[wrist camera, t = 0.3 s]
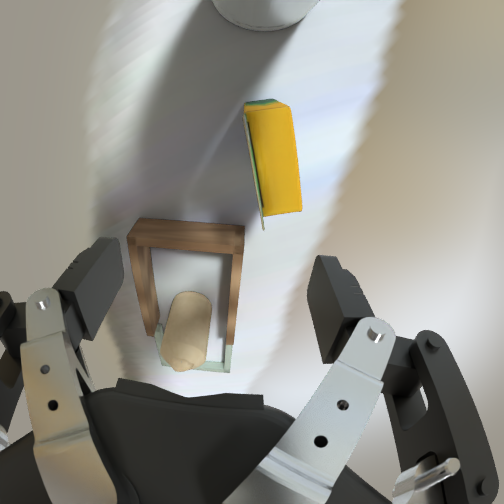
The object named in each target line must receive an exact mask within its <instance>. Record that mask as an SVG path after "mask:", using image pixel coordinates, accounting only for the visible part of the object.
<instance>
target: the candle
mask: <svg viewBox="0 0 504 504" xmlns="http://www.w3.org/2000/svg"><path fill="white" fill-rule="evenodd" d="M211 312H212V306H211V303H210V301H209V300H208V299H207V298H206V297H205V296H204V295H202V294H200V293H197V292H192V291H185V292H181V293H179V294H178V295H176V296H175V298H174V300H173V302H172V306H171V309H170V313H169V317H168V320H167V324H166V328H165V332H164V336H163V340H162V344H161V348H160V354H161V356H162V357H163V359H164V360H165V361H166V362H167V363H168V364H169V365H170V366H171V367H172V368H173V369H174V370H175V371H177V372H183V371H186V370H190V369H195V368H197V367H199V366H201V365H203V364H204V363H205V361H206V353H207V345H208V336H209V328H210V320H211Z"/></svg>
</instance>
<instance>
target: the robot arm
mask: <svg viewBox="0 0 504 504" xmlns="http://www.w3.org/2000/svg"><path fill="white" fill-rule="evenodd" d="M212 1H213V4H214V6H215V8H216V9H217V10H218V12H219V13H220V14H221V15H222V16H223V17H224V18H225V19H227V20H228V21H230V22H231V23H233V24H235V25H237V26H240V27H242V28H245V29H250V30H255V31H274V30H280V29H283V28H287V27H290V26H291V25H293V24H295V23H297V22H299V21H300V20H301V19H302V18H304V17H305V16H306V15H307V13H308V12H309V11H310V10H311V9H312V8H313V7H314V6H315V5H316V4H317V3H318V2H319V1H320V0H212ZM123 278H124V270H123V264H122V258H121V251H120V245H119V241H118V239H117V238H108V237H99V238H98V239H97V241H96V242H95V243H94V244H93V245H92V246H91V248H87V249H86V250H84V251H83V252H81V253H80V254H79V255H78V256H77V257H76V258H75V259H74V261H73V263H71V264H70V266H69V267H68V269H66V270H65V272H64V273H63V274H62V275H61V276H60V278H59V279H58V280H57V282H56V283H55V284H54V285H53V287H52V288H43V289H40V290H38V291H36V292H34V293H33V294H32V295H31V296H30V297H29V298H28V300H27V302H22V303H14V302H13V300H12V298H11V296H10V294H9V293H8V292H5V291H1V292H0V340H1V342H2V343H3V345H4V347H5V348H6V350H5V352H4V353H3V355H2V357H1V359H0V504H492V502H493V501H494V499H495V498H496V496H497V493H498V489H499V480H498V475H497V471H496V467H495V464H494V460H493V456H492V453H491V450H490V446H489V443H488V440H487V437H486V434H485V431H484V428H483V425H482V422H481V419H480V417H479V414H478V412H477V409H476V406H475V404H474V401H473V399H472V397H471V394H470V392H469V389H468V387H467V385H466V383H465V380H464V378H463V376H462V374H461V372H460V369H459V367H458V365H457V363H456V361H455V359H454V357H453V355H452V353H451V351H450V349H449V347H448V345H447V344H446V342H445V340H444V339H443V338H442V337H441V336H440V335H439V334H437V333H435V332H433V331H429V330H423V331H421V332H419V333H418V334H417V336H416V338H415V339H414V340H412V339H407V338H403V337H398V336H396V335H395V332H394V330H393V328H392V327H391V326H390V325H389V324H388V323H386V322H385V321H383V320H381V319H379V318H375V315H374V313H373V311H372V309H371V307H370V305H369V303H368V301H367V299H366V297H365V295H363V291H362V289H361V288H360V285H359V283H358V281H357V280H356V278H355V276H353V275H352V274H351V273H350V272H349V271H348V270H347V269H346V270H345V269H342V267H341V265H340V263H339V261H338V259H337V257H334V256H324V255H318V256H317V257H316V259H315V262H314V266H313V270H312V274H311V277H310V281H309V285H308V289H307V301H308V305H309V309H310V312H311V316H312V320H313V325H314V329H315V332H316V337H317V341H318V345H319V349H320V353H321V357H322V362H323V364H332V363H333V365H332V367H331V369H330V370H329V372H328V373H327V375H326V377H325V378H324V380H323V381H322V383H321V384H320V386H319V387H318V389H317V390H316V392H315V393H314V395H313V396H312V397H311V399H310V401H309V402H308V404H307V405H306V406H305V407H304V409H303V410H302V412H301V413H300V415H299V416H298V417H297V419H295V418H294V417H292V416H290V415H289V414H287V413H285V412H283V411H281V410H279V409H276V408H274V407H270V406H267V405H264V403H263V395H254V394H233V393H223V394H216V395H208V396H200V397H190V398H188V397H183V396H180V395H178V394H175V393H172V392H170V391H167V390H165V389H162V388H160V387H157V386H155V385H152V384H148V383H142V382H137V381H132V380H127V379H122V378H118V381H117V384H116V387H115V388H114V387H112V388H105V389H100V390H97V391H96V389H95V387H94V385H93V382H92V379H91V377H90V374H89V370H88V367H87V365H86V361H85V358H84V355H83V351H82V348H81V346H80V342H81V340H82V339H86V340H90V341H93V340H94V338H95V335H96V333H97V331H98V329H99V327H100V325H101V323H102V321H103V319H104V317H105V315H106V313H107V311H108V309H109V307H110V306H111V304H112V302H113V300H114V298H115V296H116V294H117V292H118V291H119V289H120V287H121V285H122V283H123ZM422 386H423V389H424V392H425V394H426V397H427V400H428V410H426V407H425V404H424V401H423V398H422V395H421V392H420V388H421V387H422ZM23 387H24V388H25V394H26V400H27V405H28V411H29V416H30V420H31V424H32V429H33V431H31V432H30V433H28V434H26V435H25V436H24V437H22V438H20V439H19V440H17V441H16V442H14V443H13V444H10V443H9V442H8V436H7V432H8V429H9V426H10V422H11V419H12V417H13V414H14V411H15V408H16V405H17V402H18V400H19V397H20V394H21V392H22V389H23ZM380 393H383V394H384V398H385V402H386V405H387V409H388V413H389V417H390V421H391V425H392V430H393V434H394V439H395V443H396V448H397V452H398V457H399V462H400V467H401V475H400V476H399V477H398V479H397V481H396V483H395V488H394V489H393V492H392V495H393V497H394V499H393V501H392V502H391V501H389V500H388V499H387V498H385V497H384V496H383V495H381V494H380V493H379V492H378V491H377V490H375V489H374V488H373V487H372V486H370V485H369V484H368V483H367V482H365V481H364V480H363V479H362V478H360V477H359V476H358V475H357V474H356V473H355V472H353V471H352V470H351V469H350V468H349V467H348V466H347V465H346V462H347V461H348V459H349V457H350V456H351V454H352V452H353V450H354V448H355V446H356V444H357V443H358V440H359V439H360V437H361V435H362V433H363V431H364V429H365V426H366V424H367V422H368V420H369V418H370V416H371V414H372V411H373V409H374V407H375V404H376V402H377V400H378V397H379V395H380Z"/></svg>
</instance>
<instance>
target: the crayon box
mask: <svg viewBox="0 0 504 504" xmlns="http://www.w3.org/2000/svg"><path fill="white" fill-rule="evenodd" d="M243 123H244V128H245V133H246V138H247V144H248V149H249V155H250V160H251V166H252V172H253V177H254V183H255V189H256V194H257V200H258V205H259V210H260V216H261V222H262V229H263V231H264V230H265V228H264V222H263V217H266V216H271V215H277V214H284V213H291V212H300V211H302V198H301V187H300V177H299V167H298V158H297V150H296V142H295V134H294V127H293V120H292V114H291V109H290V107H289V106H287V105H285V104H283V103H281V102H279V101H277V100H275V99H266V100H259V101H252V102H246V103H244V114H243Z"/></svg>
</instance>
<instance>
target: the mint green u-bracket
mask: <svg viewBox="0 0 504 504" xmlns="http://www.w3.org/2000/svg"><path fill="white" fill-rule="evenodd" d="M154 336H155V340H156V344H157V348H158V352H159V356H160V360H161V364H162V366H169V367H171V366H170V365H169V364H168V363H167V362H166V361H165V360H164V359H163V357H162V356H161V354H160V348H161V344H162V340H163V336H164V334H163V329H162V324H157V328H156V331H155V335H154ZM226 336H227V335H226ZM231 355H232V345H226V349H225V363H224V362H212V361H205V363H204V364H203V365H201V366H199V367H197V368H195V369H192V370H202V371H212V372H224V373H230V365H231Z"/></svg>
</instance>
